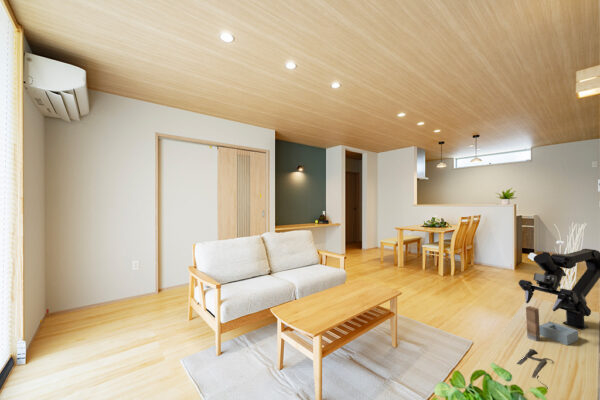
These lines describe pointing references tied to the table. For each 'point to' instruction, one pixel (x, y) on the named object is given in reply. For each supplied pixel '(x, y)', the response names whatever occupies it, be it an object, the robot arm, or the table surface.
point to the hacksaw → (531, 352)
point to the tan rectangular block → (533, 323)
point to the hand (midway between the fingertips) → (539, 306)
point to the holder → (559, 333)
